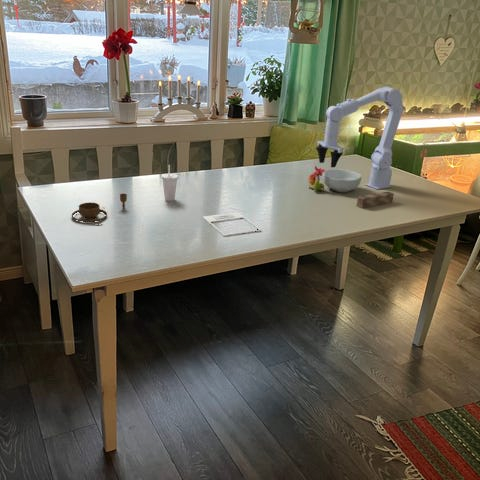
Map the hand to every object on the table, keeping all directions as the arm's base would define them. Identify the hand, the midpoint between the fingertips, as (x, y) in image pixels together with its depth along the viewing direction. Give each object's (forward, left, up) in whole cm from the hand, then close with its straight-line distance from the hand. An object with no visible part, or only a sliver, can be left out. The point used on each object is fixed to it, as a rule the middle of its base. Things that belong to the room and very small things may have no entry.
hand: (327, 164), depth 226 cm
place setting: (+103, -2, -10) cm, 103 cm away
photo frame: (+64, +23, -10) cm, 69 cm away
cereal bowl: (-3, +7, -10) cm, 12 cm away
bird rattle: (+9, +3, -10) cm, 14 cm away
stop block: (-3, +28, -10) cm, 30 cm away
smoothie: (+73, -9, -10) cm, 74 cm away
